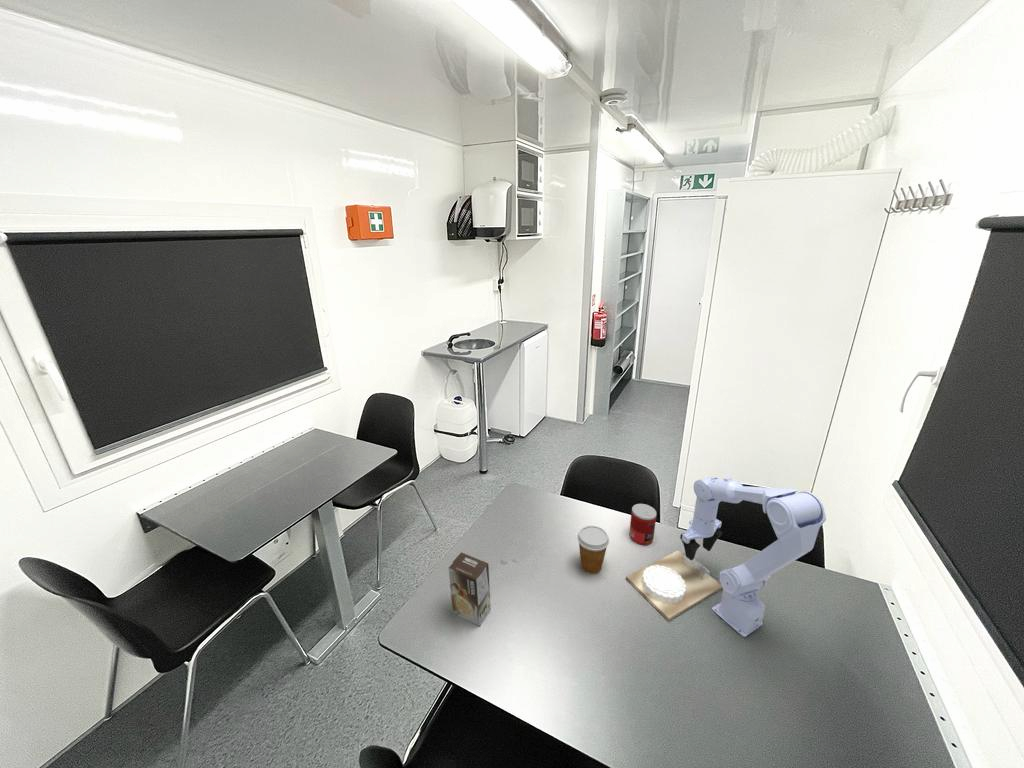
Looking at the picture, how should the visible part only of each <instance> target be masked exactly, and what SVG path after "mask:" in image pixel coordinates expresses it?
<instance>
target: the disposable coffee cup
mask: <svg viewBox="0 0 1024 768" xmlns="http://www.w3.org/2000/svg"><path fill="white" fill-rule="evenodd" d="M576 537H577V538H576V539H577V542H578V543H579V544H578V545H579V546H578V547H579V559H580V567H581V569H582V570H583V571H584V572H585V573H587V574H590V575H595V574H598V573H600V572H601V570H602V568H603V564H604V559H605V556H606V552H607V548H608V546H609V544H610V538H609V536H608V533H607V531H606V530H604V529H603V528H602V527H601V526H596V525H586V526H583V527H582V528H581V529H579V532H578V533H577V536H576Z"/></svg>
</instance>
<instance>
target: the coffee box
mask: <svg viewBox="0 0 1024 768" xmlns="http://www.w3.org/2000/svg"><path fill="white" fill-rule="evenodd" d="M489 571H490V567H489V563H488V562H486V561H484V560H481V559H479V558H476V557H474V556H471V555H469V554H466V553H463V552H460V553H459V554H458V555H457V556H456V557H455V559H454V560H453V561H452V563H451V564H450V566H448V577H449V578H448V579H449V588H450V596H451V598H450V599H451V608H452V614H453V615H456V616H458V617H460V618H462V619H464V620H466V621H468V622H470V623H472V624H474V625H476V626H478V627H481V625H482V624H483V622H484V621H485V620H486V618H487V617H488V615H489V613H490V612H491V609H492V606H491V605H492V604H491V589H490V574H489V573H490V572H489Z"/></svg>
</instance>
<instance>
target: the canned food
mask: <svg viewBox="0 0 1024 768" xmlns="http://www.w3.org/2000/svg"><path fill="white" fill-rule="evenodd" d="M656 522H657V510H656V509H655V508H654V507H652V506H651V505H649V504H646V503H645V504H644V503H636V504H634V505H633V506H632V507H631V515H630V524H629V532H628V533H629V537H630V539H631V540H632V541H633V542H634V543H636V544H638V545H641V546H645V545H646V546H648V545H650V544H651V543H653V540H654V536H655V528H656Z"/></svg>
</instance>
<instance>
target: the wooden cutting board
mask: <svg viewBox="0 0 1024 768" xmlns="http://www.w3.org/2000/svg"><path fill="white" fill-rule="evenodd" d="M655 565H659V566H665V567H666V568H667V567H668V568H671V569H672V570H674V571H676V572H677V574H679V575H681V577H682V579H683V580H684V581H685V584H686V593H685V597H683V600H682V601H679V602H678V603H673V604H669V603H662V602H661V601H657V600H655V598H652V597H650V596H649V594H648V593H646V592H645V589H644V588H643V587H642V582H641V581H642V575H643V571H644V570H646V568H647V567H650V566H655ZM710 574H711V570H709V569H708V568H707V567H706V566H705V565H703V564H702V563H700V562H699V560H697V559H695V558H694V559H693V560H692V561H691V560H690V559H688V558H687V557H686V554H683V553H682V552H680V550H676V551H673V552H672V553H670V554H668V555H666V556H664V557H662V558H659V559H658V560H656V561H654V562H652V563H650V564H648V565H646V566H644V567H642V568H640V569H639V570H636V571H634V572H632V573H630V574H628V575H626V577H625V580H627V582H628V583H629V584H630V585H632V587H633V588H634V589H635V590H636V591H638V592H639V594H640V595H641V596H642V597H644V599H646V600H647V601H648V602H649V604H650V605H652V606H653V607H654V609H656V610H657V612H658V613H660V614H661V616H662V617H664V618H665V620H667V621H668V622H670V621H671V620H673V619H674V618H676V617H678V616H679V615H681V614H684V612H686V611H687V610H689V609H691V608H693V607H694V606H696V605H697V604H700V603H701V602H703V601H704V600H706V599H707V598H709V597H711V596H712V595H715V594H716V593H718V592H719V591H721V590H723V587H722V585H721V583H720V582H719V581H717V580H716V579H715V578H713V577H712V576H710Z"/></svg>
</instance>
